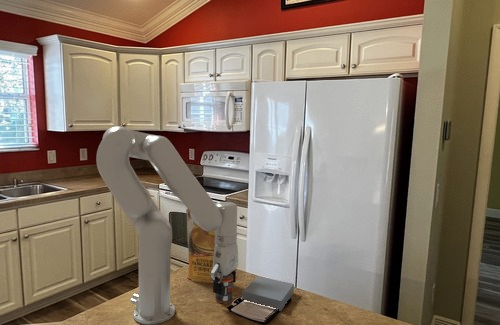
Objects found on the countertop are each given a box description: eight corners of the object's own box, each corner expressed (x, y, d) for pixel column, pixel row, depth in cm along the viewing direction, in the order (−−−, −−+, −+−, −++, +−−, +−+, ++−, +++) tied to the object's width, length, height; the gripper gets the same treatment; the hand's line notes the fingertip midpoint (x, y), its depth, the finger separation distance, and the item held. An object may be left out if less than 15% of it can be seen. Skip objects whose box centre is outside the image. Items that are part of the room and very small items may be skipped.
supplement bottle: (230, 305, 113) (231, 272, 112) (213, 303, 114) (213, 270, 113) (234, 296, 118) (235, 265, 117) (218, 294, 120) (218, 263, 119)
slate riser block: (242, 301, 116) (242, 291, 115) (258, 284, 128) (258, 276, 128) (280, 311, 110) (281, 300, 109) (293, 293, 122) (294, 283, 122)
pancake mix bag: (188, 273, 136) (189, 205, 134) (234, 278, 133) (236, 209, 131) (182, 280, 130) (182, 209, 127) (230, 286, 127) (232, 213, 124)
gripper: (222, 248, 105) (221, 301, 106) (246, 233, 121) (245, 279, 122) (202, 244, 108) (201, 295, 110) (227, 230, 124) (227, 275, 125)
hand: (224, 287), depth 116 cm, fingers open, 9 cm apart
